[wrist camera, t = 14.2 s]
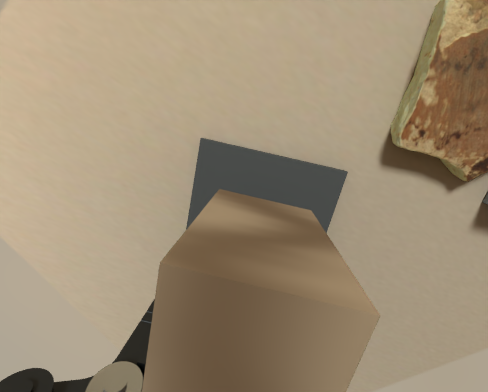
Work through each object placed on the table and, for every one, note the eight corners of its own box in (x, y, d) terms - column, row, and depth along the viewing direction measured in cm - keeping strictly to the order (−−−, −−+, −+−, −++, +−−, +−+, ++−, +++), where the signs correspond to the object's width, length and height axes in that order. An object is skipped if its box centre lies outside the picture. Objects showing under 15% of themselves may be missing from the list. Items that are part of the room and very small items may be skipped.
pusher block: (311, 210, 10) (380, 315, 4) (256, 383, 12) (252, 597, 7) (219, 188, 10) (160, 262, 4) (184, 365, 13) (117, 562, 7)
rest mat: (345, 170, 13) (347, 172, 12) (283, 349, 16) (283, 354, 16) (202, 138, 13) (200, 138, 13) (173, 322, 17) (170, 326, 16)
